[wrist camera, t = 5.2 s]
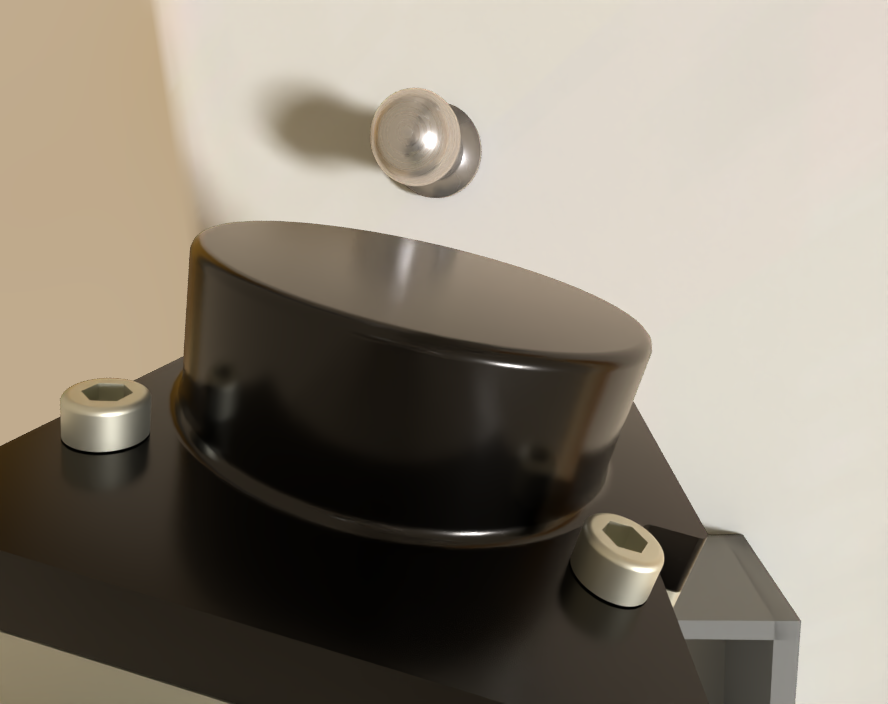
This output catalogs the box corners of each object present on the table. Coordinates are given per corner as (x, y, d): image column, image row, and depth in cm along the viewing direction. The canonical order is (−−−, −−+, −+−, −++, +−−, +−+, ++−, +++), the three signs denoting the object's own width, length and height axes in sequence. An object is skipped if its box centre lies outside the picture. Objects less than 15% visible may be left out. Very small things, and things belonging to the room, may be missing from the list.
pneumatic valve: (323, 569, 16) (-117, 1426, 5) (391, 202, 13) (-790, 289, 1) (489, 618, 16) (422, 1654, 5) (610, 255, 12) (1832, 1081, 1)
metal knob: (389, 113, 18) (337, 77, 13) (476, 98, 18) (458, 53, 13) (402, 203, 19) (358, 204, 14) (485, 191, 19) (473, 187, 13)
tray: (365, 542, 24) (331, 618, 20) (742, 534, 21) (800, 621, 17) (405, 741, 27) (383, 844, 23) (735, 757, 24) (782, 877, 20)
